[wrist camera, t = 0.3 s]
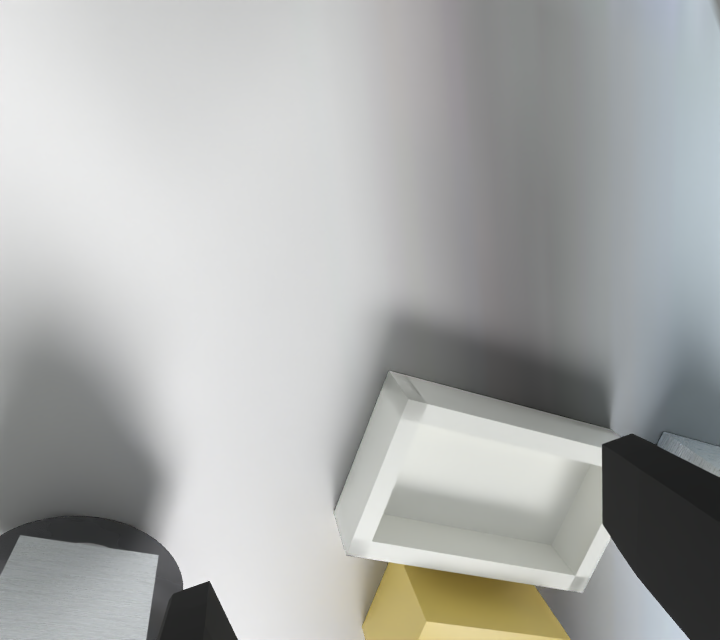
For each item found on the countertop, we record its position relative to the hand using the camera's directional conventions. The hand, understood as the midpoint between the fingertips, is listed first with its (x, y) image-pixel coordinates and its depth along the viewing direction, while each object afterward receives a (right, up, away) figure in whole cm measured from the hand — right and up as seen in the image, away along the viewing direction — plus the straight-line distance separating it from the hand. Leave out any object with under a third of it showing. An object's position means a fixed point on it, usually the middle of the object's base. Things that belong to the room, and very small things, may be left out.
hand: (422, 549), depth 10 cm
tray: (+3, -2, +13) cm, 13 cm away
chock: (+2, -8, +15) cm, 17 cm away
